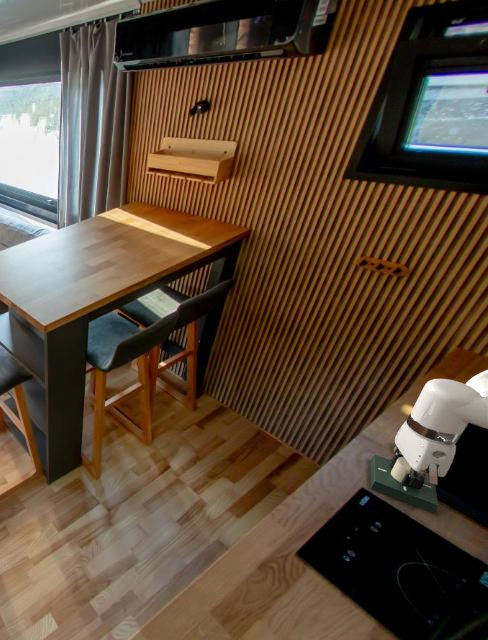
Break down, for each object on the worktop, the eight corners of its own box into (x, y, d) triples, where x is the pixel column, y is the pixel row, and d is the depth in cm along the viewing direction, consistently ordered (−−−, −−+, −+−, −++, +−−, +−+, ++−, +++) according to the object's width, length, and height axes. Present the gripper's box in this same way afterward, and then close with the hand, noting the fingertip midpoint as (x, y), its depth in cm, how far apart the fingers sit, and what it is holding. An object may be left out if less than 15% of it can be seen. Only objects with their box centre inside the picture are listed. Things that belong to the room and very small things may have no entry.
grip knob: (387, 467, 94) (394, 454, 92) (412, 473, 92) (419, 459, 90) (395, 482, 91) (403, 468, 88) (421, 488, 89) (430, 474, 86)
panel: (428, 482, 92) (433, 474, 91) (433, 512, 86) (438, 504, 85) (370, 461, 99) (373, 453, 98) (371, 488, 93) (375, 480, 92)
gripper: (485, 461, 75) (448, 514, 83) (434, 404, 88) (406, 454, 96) (431, 452, 79) (401, 503, 86) (390, 398, 92) (367, 446, 100)
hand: (404, 476), depth 91 cm, fingers closed on grip knob, 4 cm apart
